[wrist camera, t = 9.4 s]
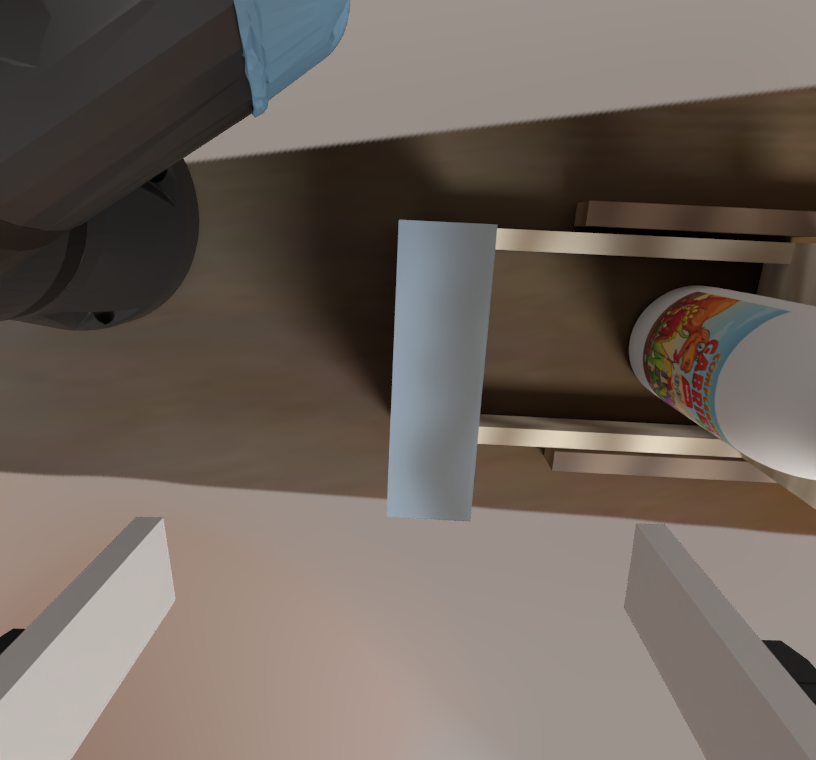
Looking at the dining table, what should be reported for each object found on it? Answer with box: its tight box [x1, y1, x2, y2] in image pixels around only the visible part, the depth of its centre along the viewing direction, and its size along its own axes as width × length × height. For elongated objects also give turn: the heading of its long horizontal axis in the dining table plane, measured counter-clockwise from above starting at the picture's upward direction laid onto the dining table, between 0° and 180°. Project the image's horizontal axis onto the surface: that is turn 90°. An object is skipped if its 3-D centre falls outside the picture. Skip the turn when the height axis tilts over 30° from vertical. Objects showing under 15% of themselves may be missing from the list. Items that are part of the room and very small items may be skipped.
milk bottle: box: [629, 285, 816, 480], centre depth 25 cm, size 8×8×20 cm
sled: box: [387, 220, 816, 521], centre depth 28 cm, size 24×14×12 cm, turn 87°
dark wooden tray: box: [544, 200, 816, 483], centre depth 33 cm, size 27×17×2 cm, turn 87°
